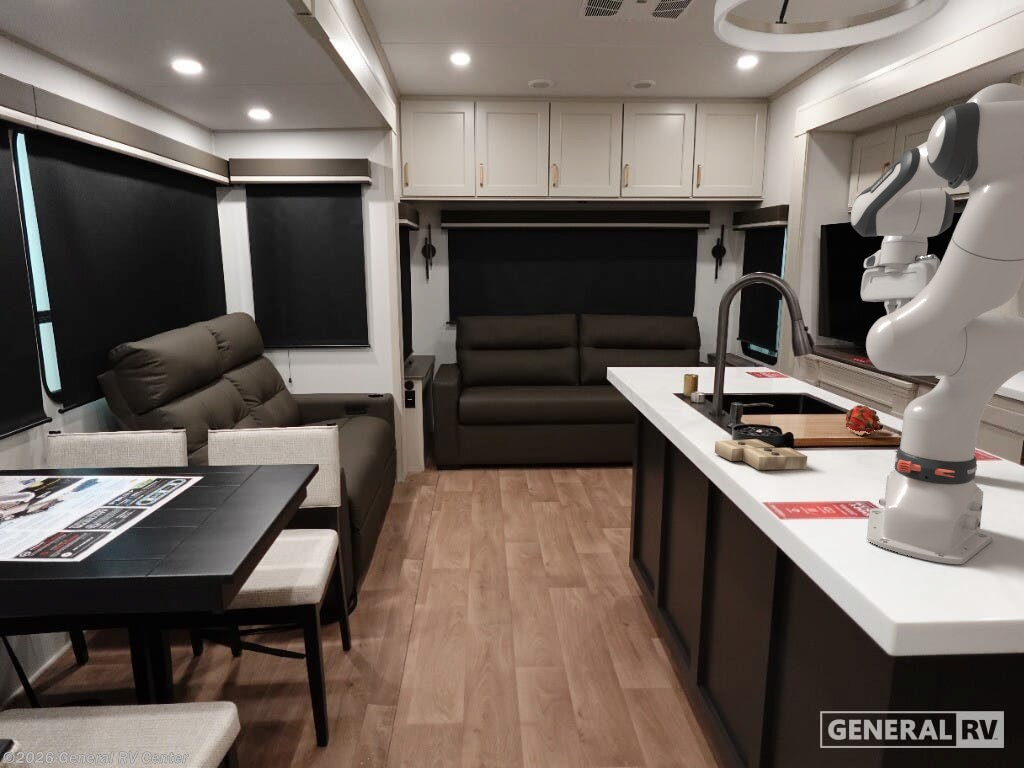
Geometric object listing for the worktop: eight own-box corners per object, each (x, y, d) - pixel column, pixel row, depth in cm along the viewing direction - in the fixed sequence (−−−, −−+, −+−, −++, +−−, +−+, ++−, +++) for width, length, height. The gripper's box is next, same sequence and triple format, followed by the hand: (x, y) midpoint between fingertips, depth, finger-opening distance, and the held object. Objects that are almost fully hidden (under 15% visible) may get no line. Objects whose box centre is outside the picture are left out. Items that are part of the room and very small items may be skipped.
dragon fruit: (856, 433, 185) (869, 451, 174) (832, 416, 185) (844, 432, 174) (878, 411, 182) (893, 428, 171) (854, 394, 182) (868, 409, 170)
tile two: (790, 446, 156) (744, 447, 154) (807, 455, 149) (759, 455, 148) (788, 460, 157) (742, 461, 155) (805, 470, 150) (757, 470, 148)
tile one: (756, 437, 164) (715, 439, 161) (775, 445, 157) (732, 447, 154) (755, 451, 165) (714, 453, 161) (773, 459, 158) (730, 462, 155)
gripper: (953, 254, 133) (944, 321, 135) (883, 264, 154) (875, 322, 155) (926, 251, 133) (917, 318, 134) (859, 261, 153) (851, 319, 154)
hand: (894, 320), depth 144 cm, fingers closed
